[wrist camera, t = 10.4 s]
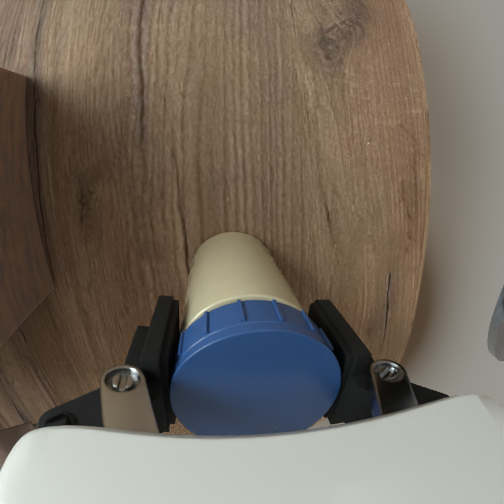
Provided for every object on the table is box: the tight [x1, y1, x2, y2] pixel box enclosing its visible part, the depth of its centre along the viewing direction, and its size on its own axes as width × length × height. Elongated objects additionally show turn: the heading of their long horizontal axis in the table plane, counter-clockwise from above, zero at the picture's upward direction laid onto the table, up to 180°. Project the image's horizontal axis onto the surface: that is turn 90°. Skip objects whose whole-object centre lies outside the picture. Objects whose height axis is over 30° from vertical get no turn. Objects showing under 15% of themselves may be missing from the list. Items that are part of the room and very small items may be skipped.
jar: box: [179, 232, 304, 339], centre depth 13 cm, size 5×5×9 cm
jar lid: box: [169, 299, 341, 436], centre depth 9 cm, size 5×5×2 cm
